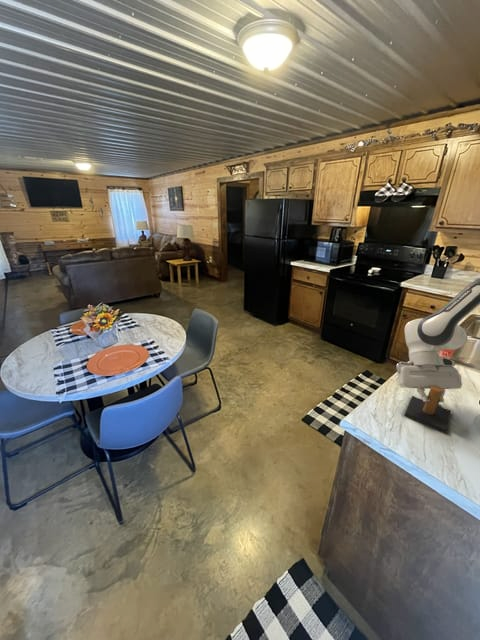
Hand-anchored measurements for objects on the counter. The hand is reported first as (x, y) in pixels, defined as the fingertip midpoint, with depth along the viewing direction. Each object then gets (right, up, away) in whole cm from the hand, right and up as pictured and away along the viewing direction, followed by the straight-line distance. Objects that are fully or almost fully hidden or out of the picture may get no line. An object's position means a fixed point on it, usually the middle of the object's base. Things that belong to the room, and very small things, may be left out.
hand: (433, 401), depth 90 cm
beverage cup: (+34, +9, +39) cm, 52 cm away
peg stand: (+1, -5, +4) cm, 7 cm away
